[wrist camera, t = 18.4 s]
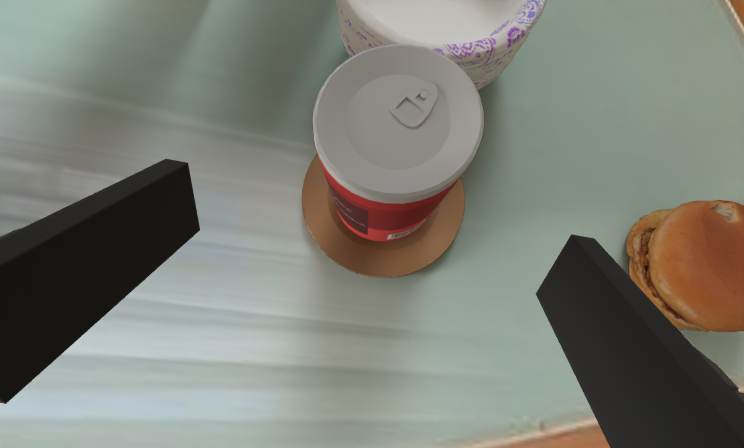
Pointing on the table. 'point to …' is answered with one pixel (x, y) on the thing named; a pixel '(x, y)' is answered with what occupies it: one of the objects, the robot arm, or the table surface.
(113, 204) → the robot arm
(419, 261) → the plate
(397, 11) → the paper bowls
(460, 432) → the table surface
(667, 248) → the burger
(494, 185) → the table surface
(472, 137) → the canned food
